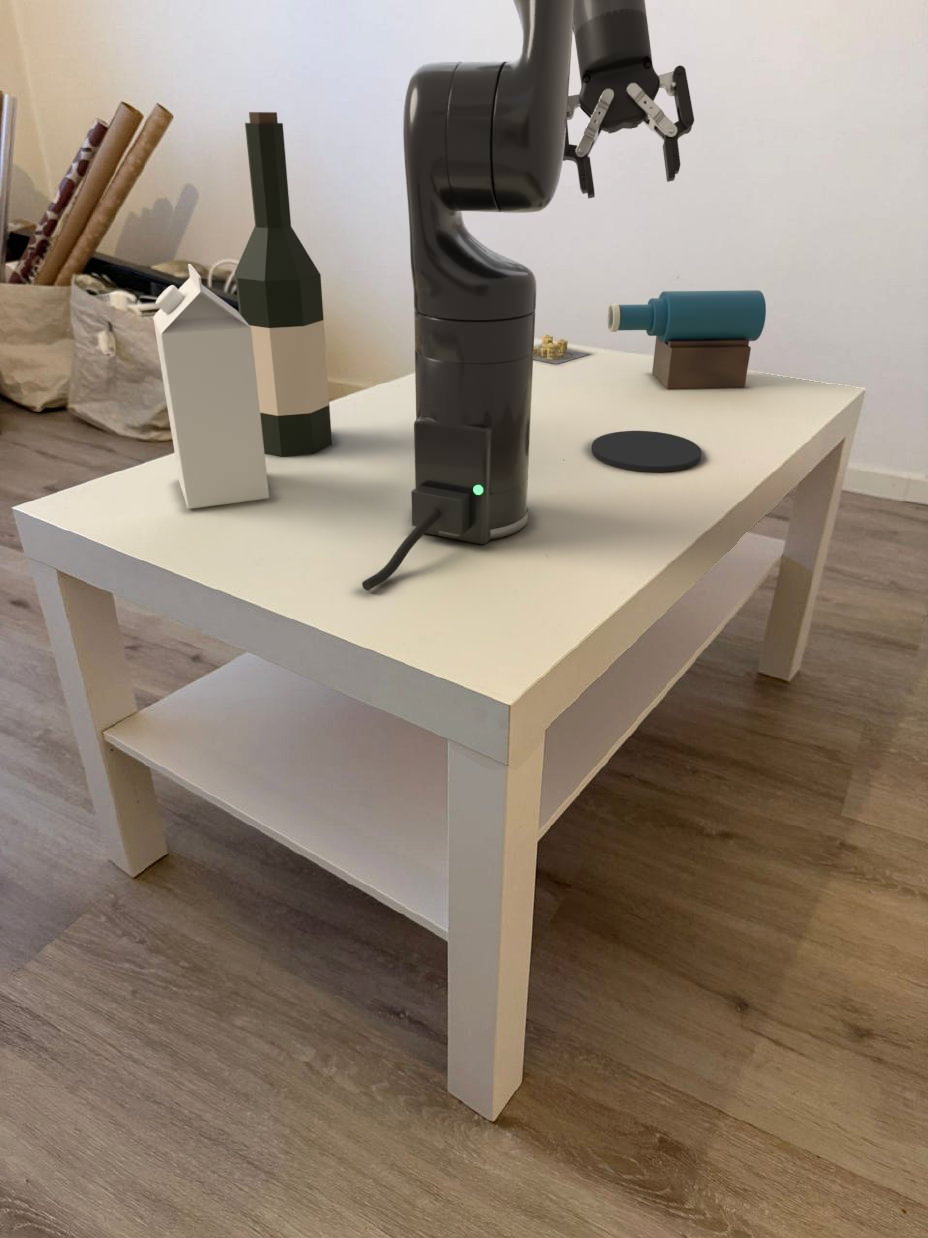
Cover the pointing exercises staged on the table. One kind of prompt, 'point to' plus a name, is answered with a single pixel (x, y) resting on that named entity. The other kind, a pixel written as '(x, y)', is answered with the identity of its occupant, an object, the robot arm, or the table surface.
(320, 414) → the wine bottle
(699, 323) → the bottle
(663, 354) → the cradle
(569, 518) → the table surface
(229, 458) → the milk carton
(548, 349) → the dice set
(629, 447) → the coaster
